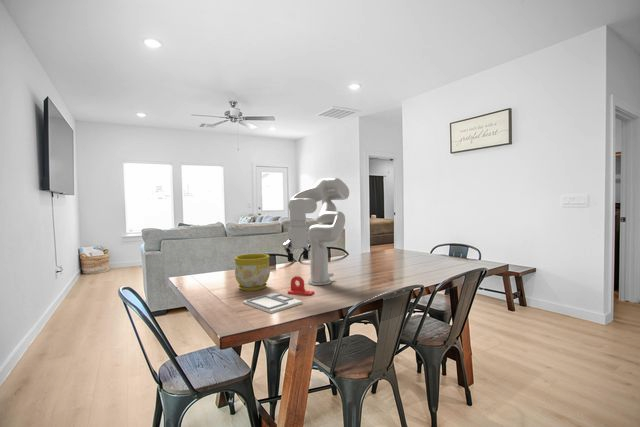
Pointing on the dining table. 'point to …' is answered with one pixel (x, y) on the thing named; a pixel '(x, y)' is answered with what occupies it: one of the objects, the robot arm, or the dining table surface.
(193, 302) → the dining table surface
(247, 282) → the flowerpot
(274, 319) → the dining table surface
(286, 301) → the fitting board
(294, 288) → the bracket
